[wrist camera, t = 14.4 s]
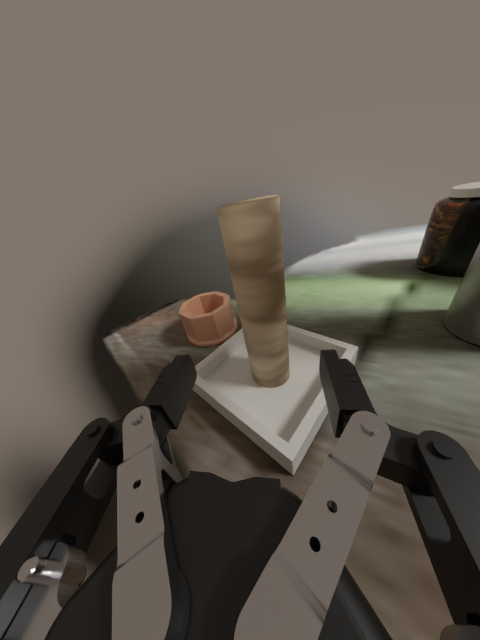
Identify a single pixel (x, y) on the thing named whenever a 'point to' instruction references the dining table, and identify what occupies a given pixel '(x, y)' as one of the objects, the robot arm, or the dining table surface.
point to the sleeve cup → (208, 319)
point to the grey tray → (271, 393)
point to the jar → (452, 233)
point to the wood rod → (259, 283)
